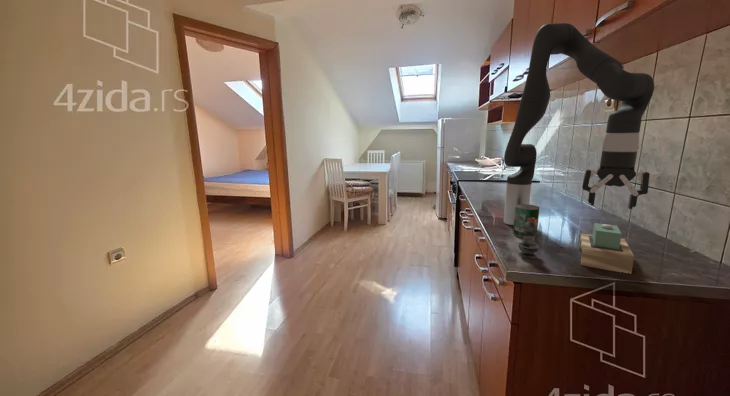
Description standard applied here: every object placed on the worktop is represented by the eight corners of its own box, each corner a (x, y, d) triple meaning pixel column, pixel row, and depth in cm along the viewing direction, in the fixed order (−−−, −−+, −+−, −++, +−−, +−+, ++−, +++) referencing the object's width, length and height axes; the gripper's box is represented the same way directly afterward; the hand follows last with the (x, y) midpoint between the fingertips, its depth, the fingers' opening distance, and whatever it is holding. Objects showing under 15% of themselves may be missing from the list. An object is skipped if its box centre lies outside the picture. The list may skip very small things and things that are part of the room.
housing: (592, 236, 93) (594, 220, 92) (614, 239, 90) (617, 223, 89) (594, 245, 86) (596, 227, 85) (619, 249, 83) (622, 230, 82)
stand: (578, 247, 99) (580, 232, 98) (622, 254, 93) (624, 238, 92) (580, 265, 85) (583, 247, 84) (631, 274, 80) (634, 255, 78)
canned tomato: (514, 230, 118) (517, 203, 116) (537, 233, 113) (540, 205, 111) (511, 236, 111) (513, 207, 109) (535, 239, 107) (538, 209, 105)
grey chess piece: (535, 253, 95) (539, 216, 92) (540, 260, 89) (544, 221, 87) (515, 251, 96) (518, 215, 94) (518, 258, 91) (522, 220, 89)
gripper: (651, 149, 82) (640, 206, 85) (586, 148, 89) (579, 201, 93) (658, 150, 76) (646, 212, 79) (588, 150, 83) (580, 206, 87)
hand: (610, 206), depth 86 cm, fingers open, 8 cm apart
